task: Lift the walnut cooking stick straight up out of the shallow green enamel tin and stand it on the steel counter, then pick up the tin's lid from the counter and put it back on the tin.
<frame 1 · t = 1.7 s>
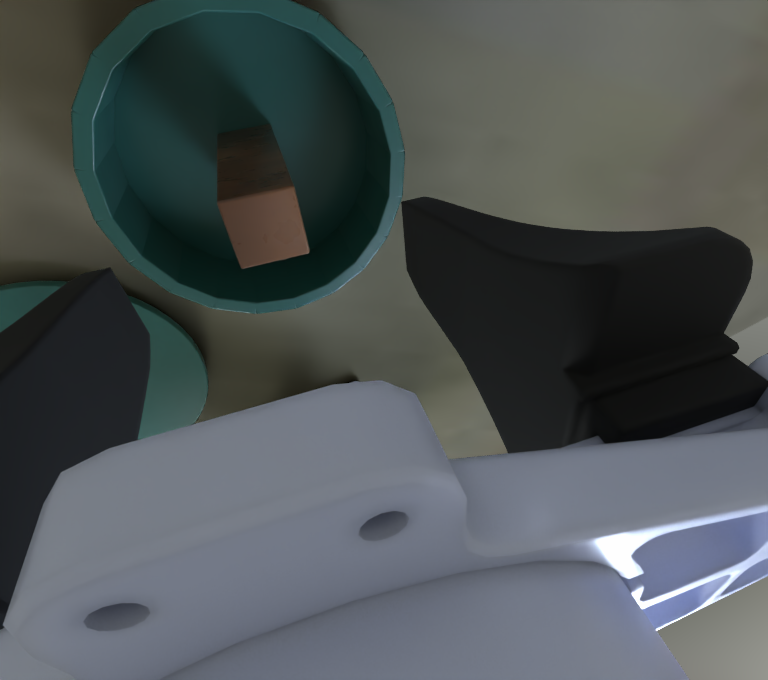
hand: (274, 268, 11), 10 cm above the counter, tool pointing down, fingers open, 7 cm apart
tin: (251, 153, 19), on the counter
tin lid: (81, 383, 23), point 1 cm above the counter
stick: (251, 155, 19), resting on tin
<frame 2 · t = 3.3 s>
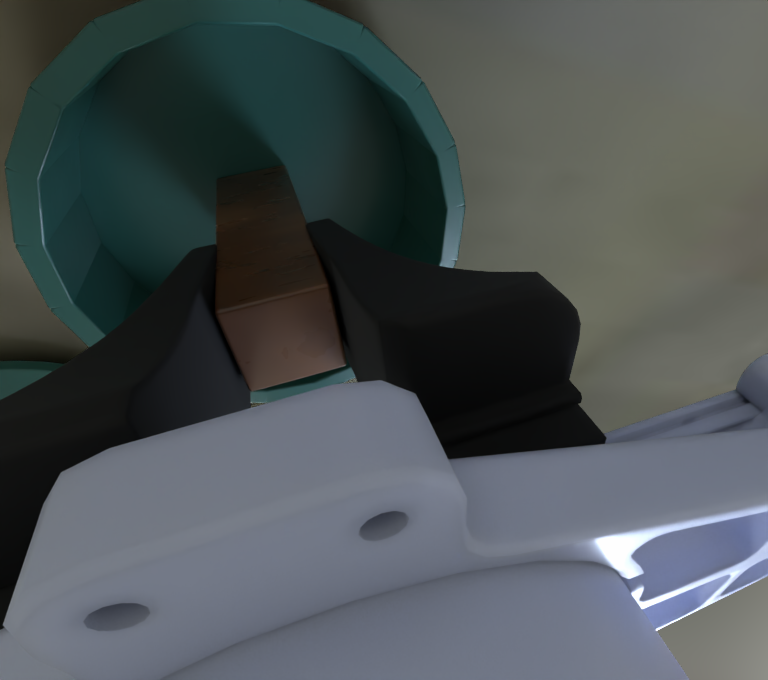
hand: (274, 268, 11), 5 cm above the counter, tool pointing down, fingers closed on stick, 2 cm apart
tin: (260, 199, 15), on the counter
tin lid: (51, 470, 19), point 1 cm above the counter
stick: (260, 204, 14), resting on tin, touching gripper
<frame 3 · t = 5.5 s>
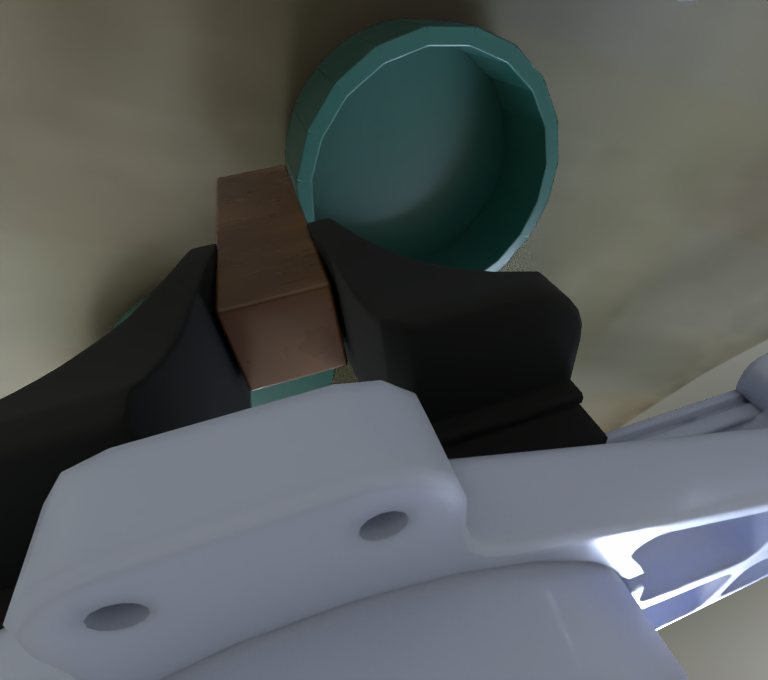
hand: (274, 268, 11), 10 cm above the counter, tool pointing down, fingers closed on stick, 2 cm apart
tin: (404, 163, 21), on the counter
tin lid: (227, 372, 25), point 1 cm above the counter
stick: (261, 204, 14), point 6 cm above the counter, touching gripper
when the fingers open (4 cm above the counter, at t = 7.9 s): stick stays where it is, on the counter.
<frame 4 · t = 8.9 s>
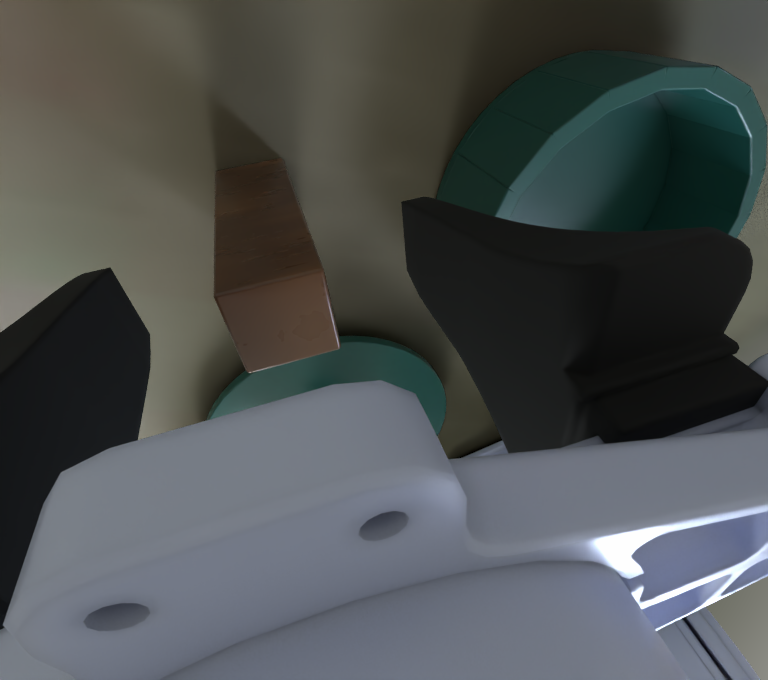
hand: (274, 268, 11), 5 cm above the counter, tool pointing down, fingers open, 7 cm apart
tin: (554, 207, 19), on the counter
tin lid: (331, 430, 22), point 1 cm above the counter
stick: (258, 196, 15), on the counter
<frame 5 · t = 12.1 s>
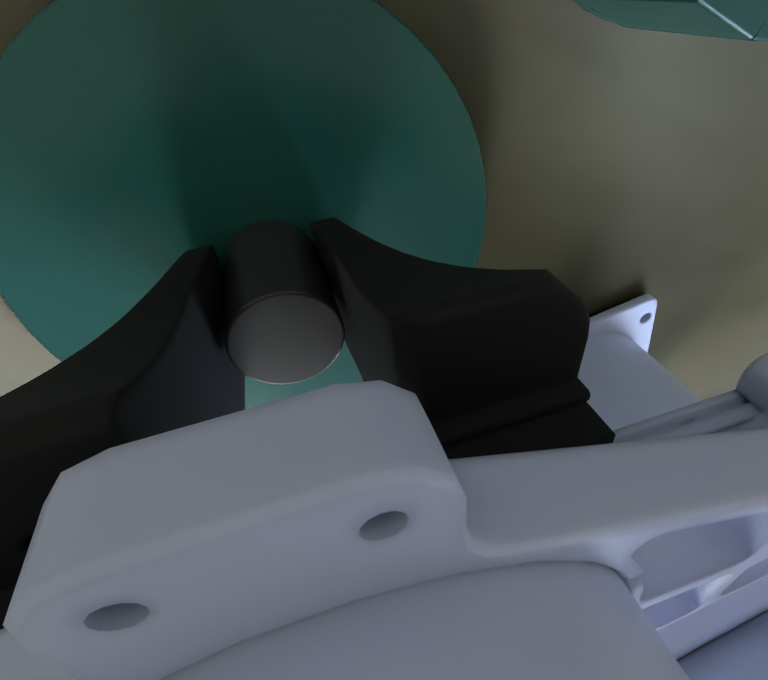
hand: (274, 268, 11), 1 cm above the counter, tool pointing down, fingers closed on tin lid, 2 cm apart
tin lid: (270, 254, 12), point 1 cm above the counter, touching gripper
when the fingers open (5 cm above the counter, at t = 16.5 s): tin lid stays where it is, resting on tin.
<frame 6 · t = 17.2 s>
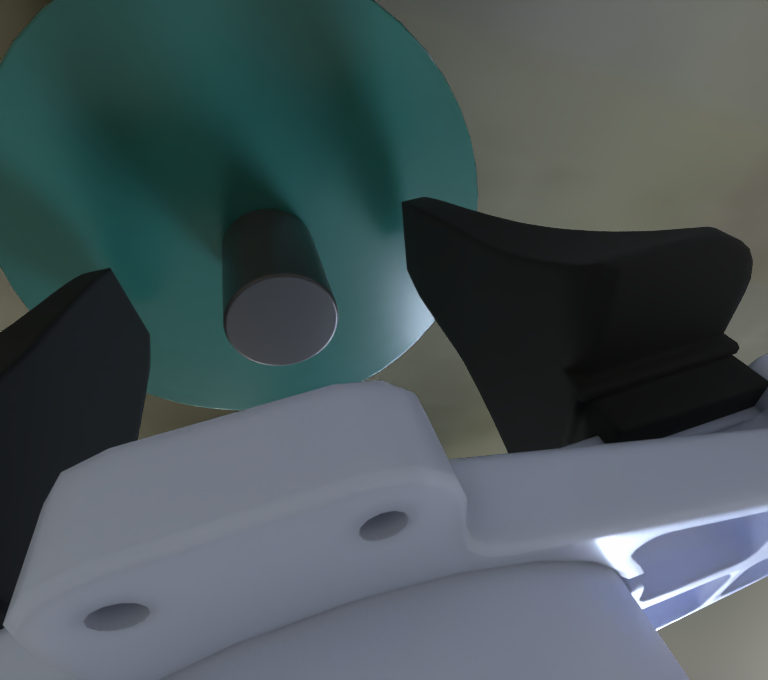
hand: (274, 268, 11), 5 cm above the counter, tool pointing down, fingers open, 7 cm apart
tin lid: (267, 242, 12), point 4 cm above the counter, touching tin
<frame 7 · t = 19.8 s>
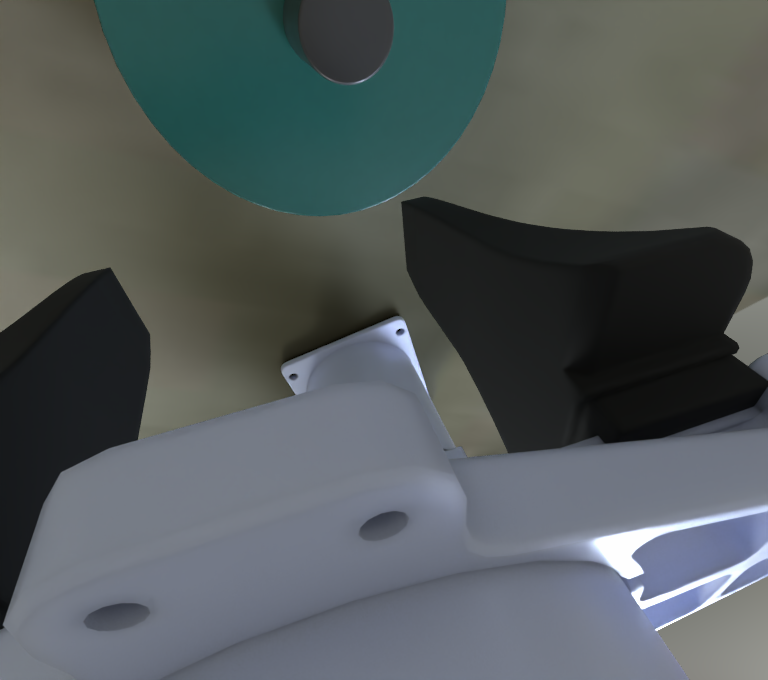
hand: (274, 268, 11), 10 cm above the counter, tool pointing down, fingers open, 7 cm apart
tin lid: (320, 20, 14), point 4 cm above the counter, touching tin
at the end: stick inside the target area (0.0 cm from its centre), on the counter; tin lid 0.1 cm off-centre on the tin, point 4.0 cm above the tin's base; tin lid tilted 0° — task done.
